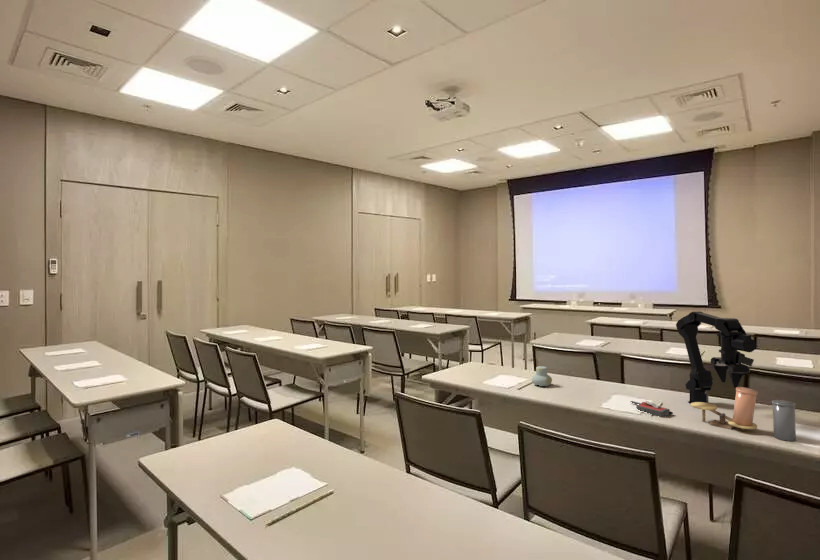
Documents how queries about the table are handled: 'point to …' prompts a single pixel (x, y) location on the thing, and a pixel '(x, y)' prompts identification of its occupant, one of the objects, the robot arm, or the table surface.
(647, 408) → the walkie-talkie
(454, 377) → the table surface
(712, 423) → the balance
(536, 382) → the air freshener
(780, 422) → the charcoal cup
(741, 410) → the terracotta cup
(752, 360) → the robot arm
